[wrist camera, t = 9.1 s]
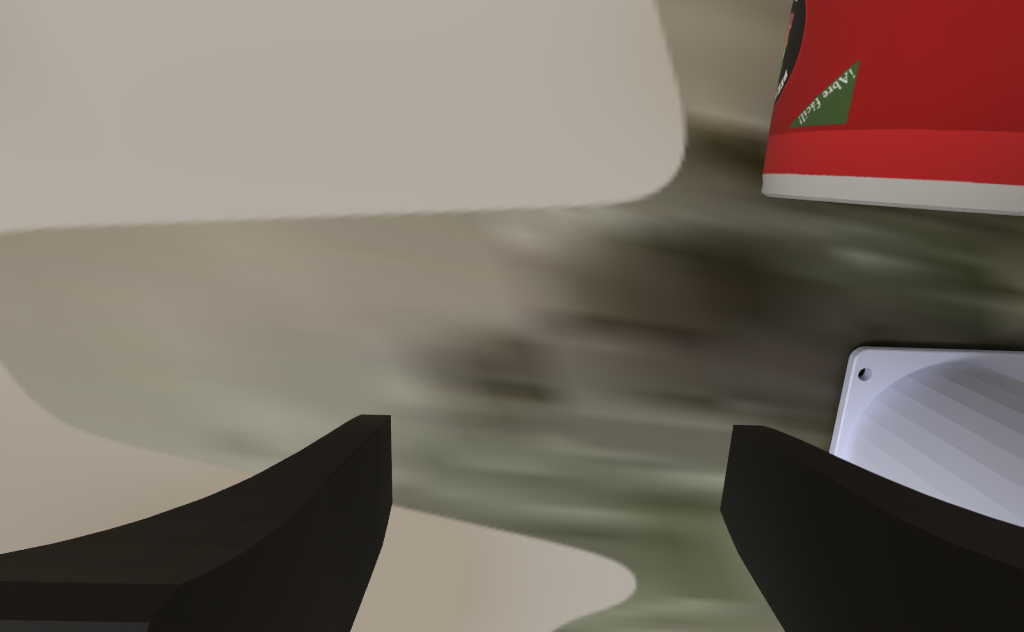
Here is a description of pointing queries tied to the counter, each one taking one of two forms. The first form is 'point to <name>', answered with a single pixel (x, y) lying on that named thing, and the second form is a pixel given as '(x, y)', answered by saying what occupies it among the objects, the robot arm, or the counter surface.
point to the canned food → (901, 105)
